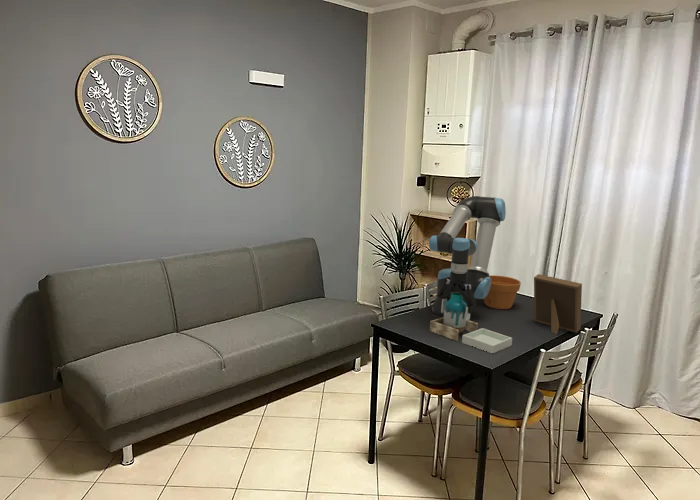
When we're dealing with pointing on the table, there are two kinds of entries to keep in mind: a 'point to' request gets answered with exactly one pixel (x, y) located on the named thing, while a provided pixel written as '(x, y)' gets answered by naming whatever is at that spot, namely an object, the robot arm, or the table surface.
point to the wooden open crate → (449, 332)
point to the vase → (455, 312)
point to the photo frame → (557, 303)
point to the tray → (487, 340)
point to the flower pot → (502, 292)
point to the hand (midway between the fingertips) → (455, 315)
